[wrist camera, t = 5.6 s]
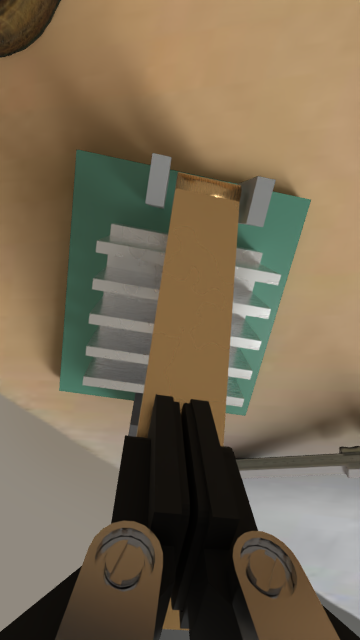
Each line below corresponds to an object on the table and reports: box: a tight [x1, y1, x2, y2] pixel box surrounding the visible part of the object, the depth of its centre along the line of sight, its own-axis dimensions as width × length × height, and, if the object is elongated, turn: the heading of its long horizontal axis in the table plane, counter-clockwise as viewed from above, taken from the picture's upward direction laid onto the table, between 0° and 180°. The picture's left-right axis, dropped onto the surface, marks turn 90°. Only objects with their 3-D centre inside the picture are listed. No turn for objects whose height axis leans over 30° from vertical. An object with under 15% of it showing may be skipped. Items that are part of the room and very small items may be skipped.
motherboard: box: [59, 150, 311, 416], centre depth 20 cm, size 18×16×10 cm
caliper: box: [236, 446, 360, 478], centre depth 28 cm, size 20×1×6 cm, turn 102°
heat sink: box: [83, 223, 281, 407], centre depth 20 cm, size 10×10×6 cm
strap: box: [136, 172, 242, 630], centre depth 12 cm, size 17×3×1 cm
